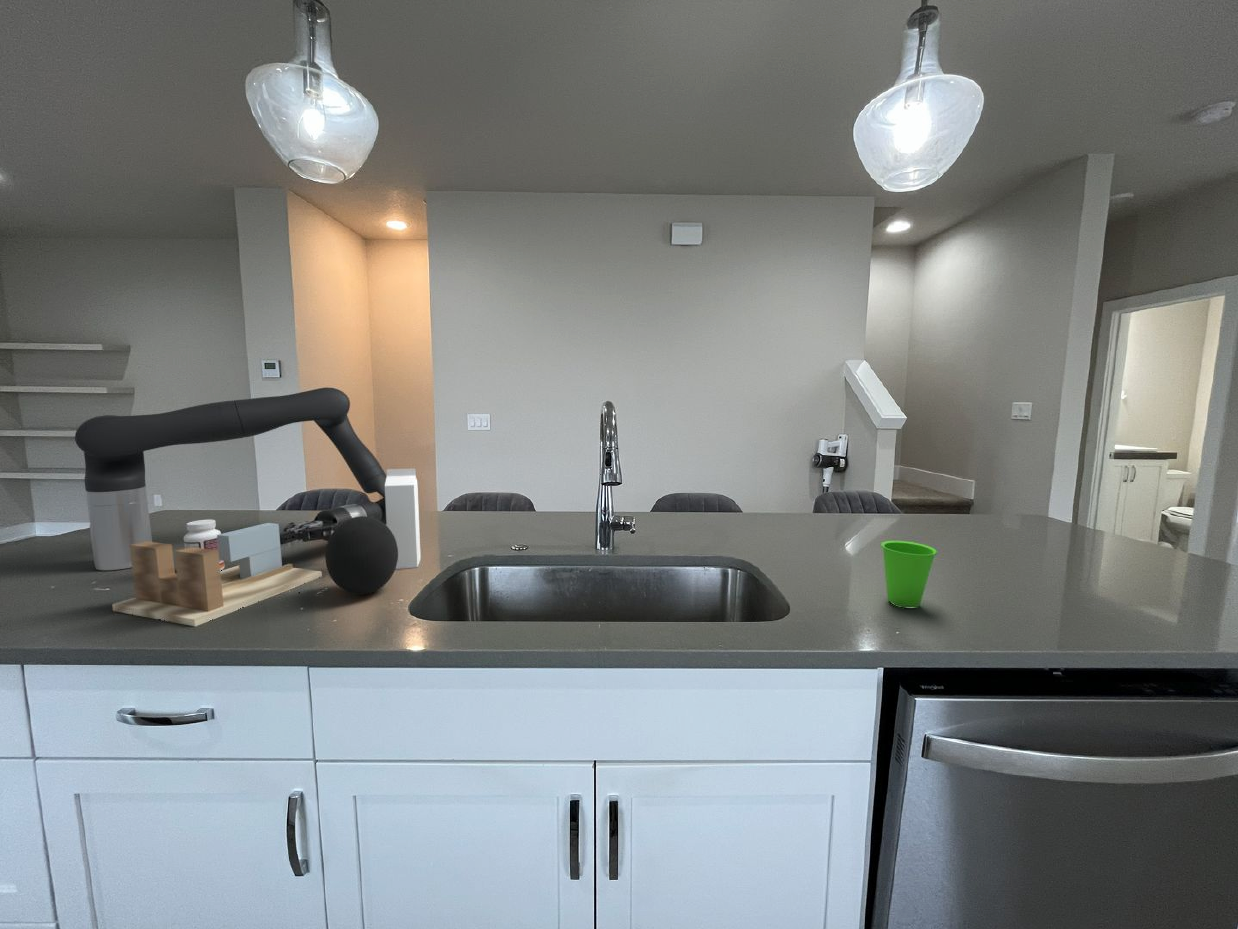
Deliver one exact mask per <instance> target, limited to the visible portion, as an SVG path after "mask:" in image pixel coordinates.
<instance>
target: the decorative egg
mask: <svg viewBox="0 0 1238 929" xmlns="http://www.w3.org/2000/svg"><path fill="white" fill-rule="evenodd" d="M324 559H325V566H326V569H327V572H328V575H329V577H330V579H331V580H332V581H333V582H334V583H335V585H336V586H337V587H339V589H341V590H343V591H345V592H347V593H350V594H353V595H368V594H372V593H374V592H376V591H378V590H380V589H382V588H383V587H384V586H385V585H386V584H388V582H389V581H390V579H391V578H392V577H393V575H394V573H395V570H397V569H396V565H397V561H398V547H397V543H396V540H395V537H394V535H393V533H392V532H391V530H390V529H389V528H388V527H387V524H386V525H385V524H384V523H383V522H381V521H379V520H377V519H375V518H372V517H366V516H359V517H354V518H351V519H349V520H346V521H345V522H343V523H342V524H340V525H339V526H338V527H337V528H336V529H335V530H334V532H333V533H332V535H331V536H330V538H329V541H327V544H326V548H325V554H324Z"/></svg>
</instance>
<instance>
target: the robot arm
mask: <svg viewBox="0 0 1238 929" xmlns="http://www.w3.org/2000/svg"><path fill="white" fill-rule="evenodd" d="M350 407H351V401H350V397H348V394H346V393H345V392H344V391H342V390H341V389H338V388H333V387H329V386H327V387H320V388H315V389H310V390H306V391H302V392H297V393H291V394H285V395H277V396H263V397H255V398H246V399H244V398H243V399H234V400H232V399H231V400H225V401H224V400H223V401H216V402H209V403H204V404H199V405H195V406H193V405H192V406H189V407H185V408H180V409H176V410H173V411H172V410H171V411H168V412H162V413H161V412H160V413H155V414H154V413H153V414H140V415H139V414H137V415H135V414H134V415H114V414H111V415H109V414H107V415H106V414H105V415H98V416H95V417H91V418H89V419H87V420H85V421H83V422H82V423H81V424H80V425H79V426H78V427H77V428H76V431H75V435H74V441H75V444H76V446H77V447H78V448H79V450H81V451H82V452H83V456H84V463H85V464H84V465H85V469H84V470H85V472H84V481H83V482H84V489H85V495H86V502H87V503H86V505H87V511H88V519H89V532H90V540H91V548H92V556H93V563H94V567H95V570H98V571H116V570H123V569H130V568H132V562H131V554H130V546H129V545H131V544H136V543H140V542H145V541H148V542H153V538H152V528H151V522H150V521H151V520H150V510H149V504H148V495H147V487H146V464H145V454H144V452H146V451H150V450H156V449H160V448H164V447H171V446H179V445H192V444H193V445H194V444H205V443H216V442H224V441H226V442H227V441H231V440H238V439H243V438H250V437H254V436H257V435H261V434H266V433H267V432H271V431H274V430H276V429H279V428H280V427H284V426H286V425H291V424H294V423H295V424H296V423H302V422H303V423H304V422H312V421H313V422H314V423H315V424H316V425H317V427H319V428H320V430H321V431H322V432H323V433H324V434H325V435H326V436H327V437H328V439H329V440H330V441H331V442H332V444H333V445H334V446H335V448H336V449H337V451H338V452H339V454H340V455H341V456H342V458H343V460H344V461H345V463H346V465H347V467H348V468H349V470H350V472H351V473H352V475H353V477H354V478H355V479H356V481H357V482H358V484H359V485H360V488H361V489H362V491H363V492H364V493H365V494H369V495H370V494H374V493H378V494H379V495H380V496H381V497H382V498H380V499H379V500H376V501H375V502H374V501H368V500H367V501H361V502H357V503H353V504H345V505H342V506H341V505H340V506H336V507H332V508H329V509H328V508H327V509H323V510H321V511H320V512H318V513H317V514H316V516H315V517H314V519H308V520H305V521H304V522H302V523H298V524H297V523H295V522H292V521H291V522H288V524H287V525H285V526H284V527H283V528H282V529H283V531H282V532H279V535H280V546H282V545H284V544H288V543H291V542H292V543H293V542H294V543H297V542H301V541H302V542H304V543H306V542H313V541H319V540H320V541H321V540H323V541H325V542H328V541H329V538H330V536H331V535H332V533H333V532H334V530H335V529H336V528H337V527H338V526H339V525H340V524H342V523H343V522H345V521H346V520H349V519H351V518H354V517H359V516H366V517H372V518H375V519H377V520H379V521H381V522H383V523H384V524H385V525H386V526H387V523H386V503H385V482H386V477H387V474H386V472H385V471H384V469H383V468H382V465H381V464H380V462H379V461H378V459H377V458H376V456H375V455H374V454H373V453H372V451H371V450H370V449H369V448H368V447H367V446H366V445H365V444H364V443H363V442H362V440H361V439H360V438H359V436H358V434H356V432H355V431H354V428H353V427H352V424H351V422H350V419H349V415H348V413H349V411H350Z"/></svg>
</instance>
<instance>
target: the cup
mask: <svg viewBox="0 0 1238 929" xmlns="http://www.w3.org/2000/svg"><path fill="white" fill-rule="evenodd" d="M880 547H881V548H882V553H883V563H884V564H883V566H884V574H885V583H886V595H887V600H888V602H889V601H890V602H892V603H894V604H895V605H898V606H901V607H918V608H919V606H921V603H922V600H923V596H924V592H925V589H926V586H927V585H926V584H927V582H928V579H929V576H930V573H931V572H930V571H931V568H932V565H933V561H934V558H935V556H937V554H938V551H937V550H936V549H935V548H934V547H931V546H929V545H926V544H922V543H916V542H912V541H904V540H886V541H883V542H881V544H880Z"/></svg>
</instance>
